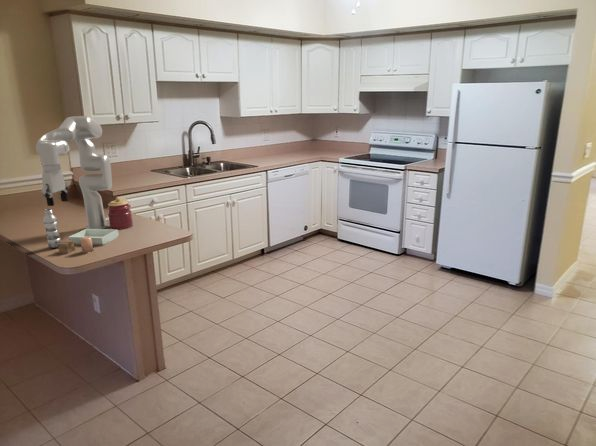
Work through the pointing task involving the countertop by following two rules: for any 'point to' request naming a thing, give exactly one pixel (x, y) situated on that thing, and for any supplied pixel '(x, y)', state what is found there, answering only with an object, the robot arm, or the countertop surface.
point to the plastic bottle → (51, 229)
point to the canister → (119, 214)
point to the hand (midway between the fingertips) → (58, 203)
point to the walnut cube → (66, 246)
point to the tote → (95, 236)
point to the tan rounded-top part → (86, 244)
